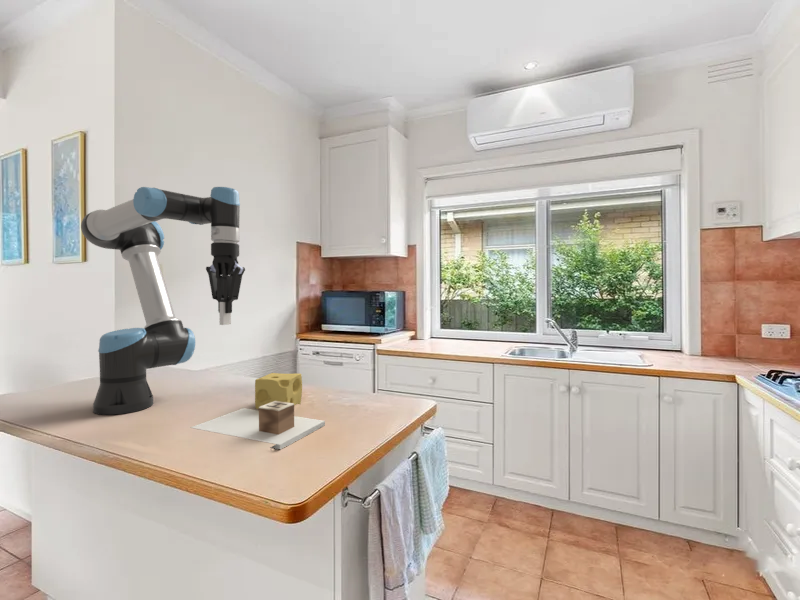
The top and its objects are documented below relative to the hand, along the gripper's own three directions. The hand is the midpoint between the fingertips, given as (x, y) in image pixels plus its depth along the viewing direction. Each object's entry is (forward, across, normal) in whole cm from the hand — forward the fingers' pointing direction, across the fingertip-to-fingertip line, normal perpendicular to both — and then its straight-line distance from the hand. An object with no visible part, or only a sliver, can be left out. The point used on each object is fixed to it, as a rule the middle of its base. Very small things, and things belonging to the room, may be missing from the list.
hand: (225, 324), depth 121 cm
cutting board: (+25, +20, -7) cm, 33 cm away
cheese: (+26, +12, +9) cm, 30 cm away
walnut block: (+18, +26, -8) cm, 33 cm away
